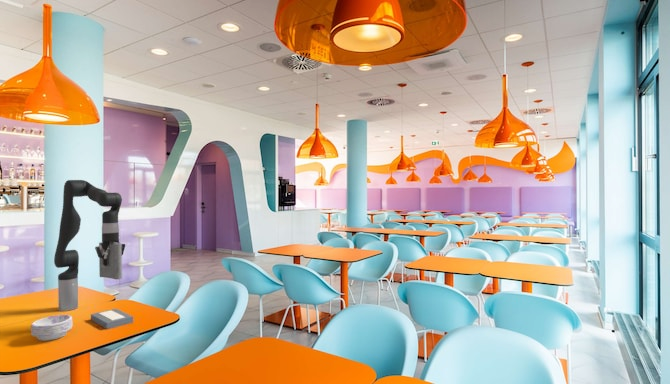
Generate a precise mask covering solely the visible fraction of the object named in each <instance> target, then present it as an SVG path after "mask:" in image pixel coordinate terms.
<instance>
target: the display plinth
mask: <svg viewBox="0 0 670 384" xmlns="http://www.w3.org/2000/svg"><path fill="white" fill-rule="evenodd" d="M90 321H92V322H93V323H96V324H97V325H99V326H100V327H102V328H104V329H106V330H109V329H114V328H118V327H121V326H125V325H129V323H130V324H133V323H134V316H132V315H130V314H128V313H126V312H124V311H122V310H120V309H118V308H114V309H108V310H104V311H99V312H94V313H91V314H90Z"/></svg>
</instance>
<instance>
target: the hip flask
mask: <svg viewBox="0 0 670 384" xmlns="http://www.w3.org/2000/svg"><path fill="white" fill-rule="evenodd" d="M101 244H102V241H101V242H99V243H98V246H101ZM121 244H122V243H120V242H119V243H117V242H115V241H113V242H110V244H109V245H110V250H109V253H108V255H107V258H106V259H107V266H104V265H103V259H102V258H99V257H98V261H99V266H98V267H99V278H105V279H112V280H122V278H123V264H122V263H123V262H122V261H123V260H122V258H123V257H122V256H123V255H122V249H121ZM103 252H104V249H103V248H101V253H102V256H103Z"/></svg>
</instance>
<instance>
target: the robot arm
mask: <svg viewBox="0 0 670 384" xmlns="http://www.w3.org/2000/svg"><path fill="white" fill-rule="evenodd" d="M76 197H77V198H78V197H80V198H81V197H87V198H88V199H89V200H90V201H93V202H95V203H97V204H98V205H99V206H101V207H104V208H105V207H110V209H109V210H106V211H103V212H102V215H101V216H102V218H101V219H102V220H101V221H102V223H101V225H102V226H101V242H102V244H101V246H99V245H97V246H95V247H94V249H95V251H96V254H97V256H98V257H97V258H98V259H99V258H102V259H103V265H104V266H107V259H106V258H107V255H108V253H109V250H110V245H109V244H110V242H113V241H115V242H117V243H120V225H119V213H120V208H121V205H122V202H123V199H122V195H121V194H120V193H119V192H109V191H108V192H107V191H106V190H104V189H101V188H99V187H96V186H94V185H93V184H91V183H90V182H88V181H87V180H83V179H68V180H66V181H65V182H64V185H63V196H62V198H63V200H62V211H61V212H62V213H61V218H60V223H59V230H58V231H59V233H58V241H57V244H56V248H55V253H54V261H53V263H54V266H55V267H56V268H58V269H59V268H67V269H66V270H65V271H63V272H61V273H59V274H58V275H57V282H58V284H57V287H58V289H57V290H58V291H57V292H58V296H57V298H58V301H57V302H58V303H57V304H58V311H61V312H65V311H67V312H68V311H73V310H76V309H78V308H79V281H78V280H79V277H78V275H79V261H80V258H79V257H80V256H79V252H78V251H77V250H76V249H68V250H67V247H68V245H69V244H70V242H71V241H72V240H73V239H74V238H75V236H76V235H78V233H79V232H80V229H81V221H82V219H81V216H80V214H79V212H78V211H77V210H76V208H75V206H74V198H76ZM101 248H103V249H104V252H103V256H102V253H101ZM125 248H126V244H125V243H121V249H122V256H123V255H124V251H125Z"/></svg>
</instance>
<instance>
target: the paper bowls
mask: <svg viewBox="0 0 670 384" xmlns="http://www.w3.org/2000/svg"><path fill="white" fill-rule="evenodd" d="M72 328H73V316H72V315H69V314H59V315H58V314H57V315H50V316H46V317H43V318H38V319H36V320H35V321H33V322H32V323H31V324H30V330H31V331H30V333H31V336H32V337H36V338H37V339H38V341H42V342H48V341H54V340H57V339H61V338H62V337H65V336H66V335H67V334H68V331H70V330H71V329H72Z"/></svg>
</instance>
